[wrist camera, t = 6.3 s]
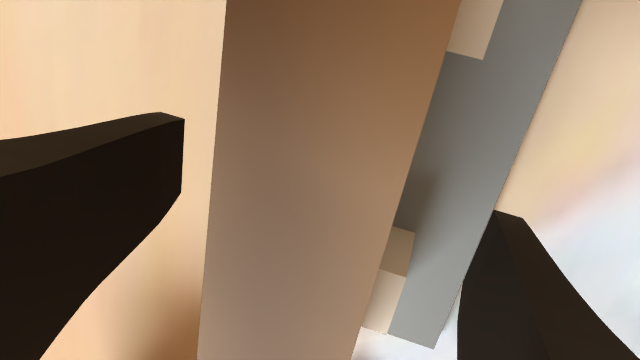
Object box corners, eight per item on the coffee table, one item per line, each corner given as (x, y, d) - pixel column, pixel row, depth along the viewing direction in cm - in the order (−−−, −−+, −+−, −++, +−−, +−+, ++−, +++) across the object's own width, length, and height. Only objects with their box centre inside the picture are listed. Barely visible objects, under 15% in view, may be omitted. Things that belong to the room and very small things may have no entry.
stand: (641, -155, 12) (686, -170, 9) (434, 337, 20) (428, 402, 17) (266, -225, 13) (213, -255, 10) (217, 264, 21) (180, 315, 18)
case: (499, -139, 10) (513, -168, 6) (350, 352, 17) (306, 501, 13) (340, -171, 10) (245, -219, 6) (259, 320, 18) (188, 454, 13)
